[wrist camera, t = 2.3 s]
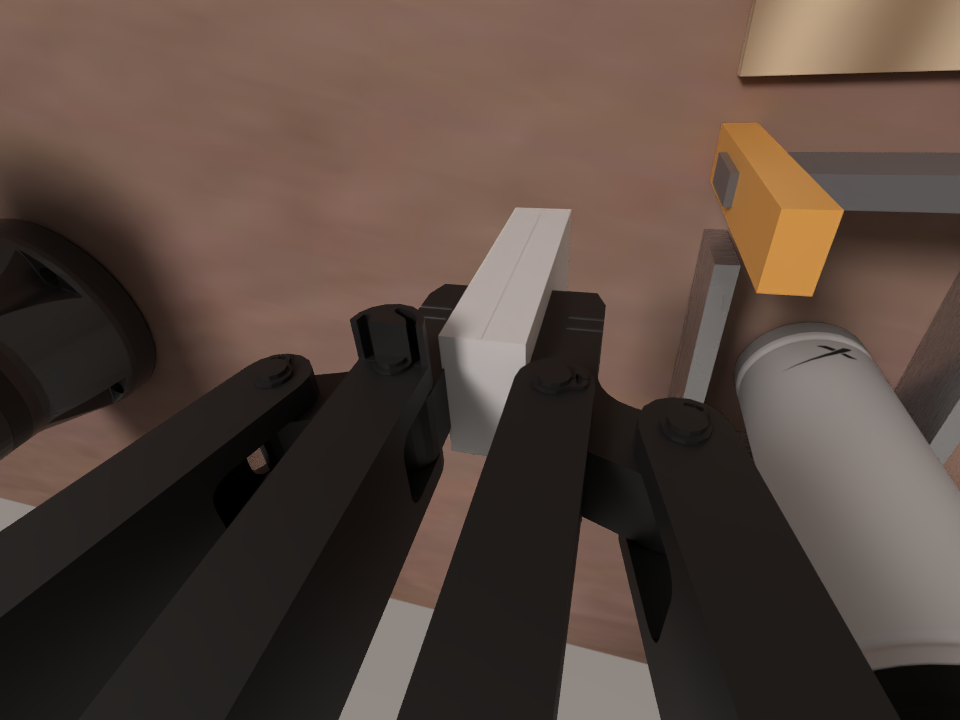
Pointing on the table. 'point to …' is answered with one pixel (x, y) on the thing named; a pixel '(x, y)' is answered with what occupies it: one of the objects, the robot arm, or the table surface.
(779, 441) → the travel mug
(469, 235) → the table surface
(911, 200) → the bar
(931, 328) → the holder
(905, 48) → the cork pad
